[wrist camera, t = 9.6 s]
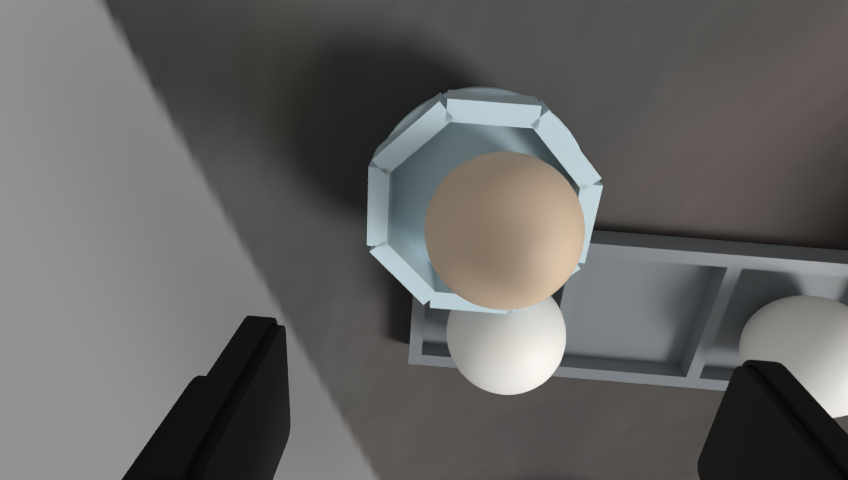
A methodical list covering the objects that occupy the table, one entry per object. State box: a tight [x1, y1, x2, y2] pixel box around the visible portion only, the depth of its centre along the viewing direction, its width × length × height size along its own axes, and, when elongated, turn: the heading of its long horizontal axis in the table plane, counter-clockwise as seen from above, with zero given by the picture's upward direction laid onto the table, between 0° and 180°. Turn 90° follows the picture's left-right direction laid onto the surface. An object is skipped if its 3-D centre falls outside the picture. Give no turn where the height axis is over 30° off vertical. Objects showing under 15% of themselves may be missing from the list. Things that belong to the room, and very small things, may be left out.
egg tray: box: [408, 230, 848, 391], centre depth 24 cm, size 7×20×1 cm, turn 86°
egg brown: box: [424, 151, 585, 310], centre depth 16 cm, size 5×5×5 cm
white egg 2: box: [739, 295, 848, 418], centre depth 22 cm, size 5×5×5 cm
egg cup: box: [367, 86, 603, 314], centre depth 20 cm, size 8×8×5 cm
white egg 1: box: [446, 296, 566, 395], centre depth 22 cm, size 5×5×5 cm
